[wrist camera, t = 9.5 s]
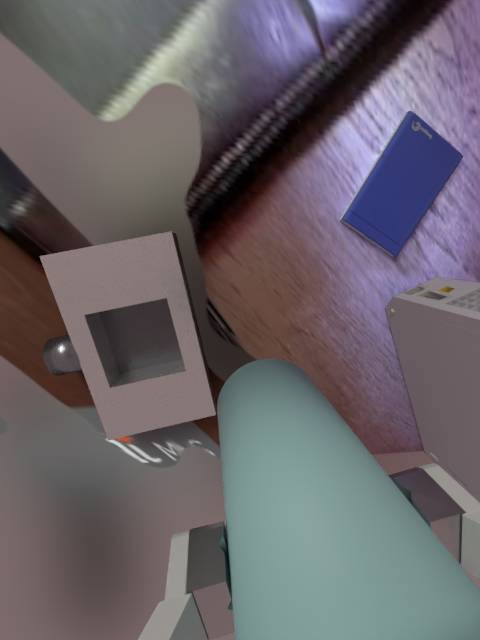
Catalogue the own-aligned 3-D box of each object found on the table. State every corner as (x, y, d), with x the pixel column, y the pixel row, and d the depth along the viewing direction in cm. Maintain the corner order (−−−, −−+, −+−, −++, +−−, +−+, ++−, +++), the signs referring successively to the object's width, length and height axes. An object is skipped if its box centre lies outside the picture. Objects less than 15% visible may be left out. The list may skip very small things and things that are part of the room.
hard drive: (411, 108, 29) (343, 219, 31) (465, 156, 31) (397, 257, 33) (400, 115, 30) (336, 220, 32) (453, 160, 32) (389, 256, 34)
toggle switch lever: (309, 348, 14) (534, 566, 4) (324, 458, 16) (507, 780, 6) (206, 371, 14) (213, 663, 4) (234, 481, 16) (283, 860, 6)
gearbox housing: (175, 233, 30) (171, 231, 26) (214, 396, 35) (216, 415, 31) (31, 260, 29) (3, 263, 25) (94, 424, 34) (79, 447, 30)
